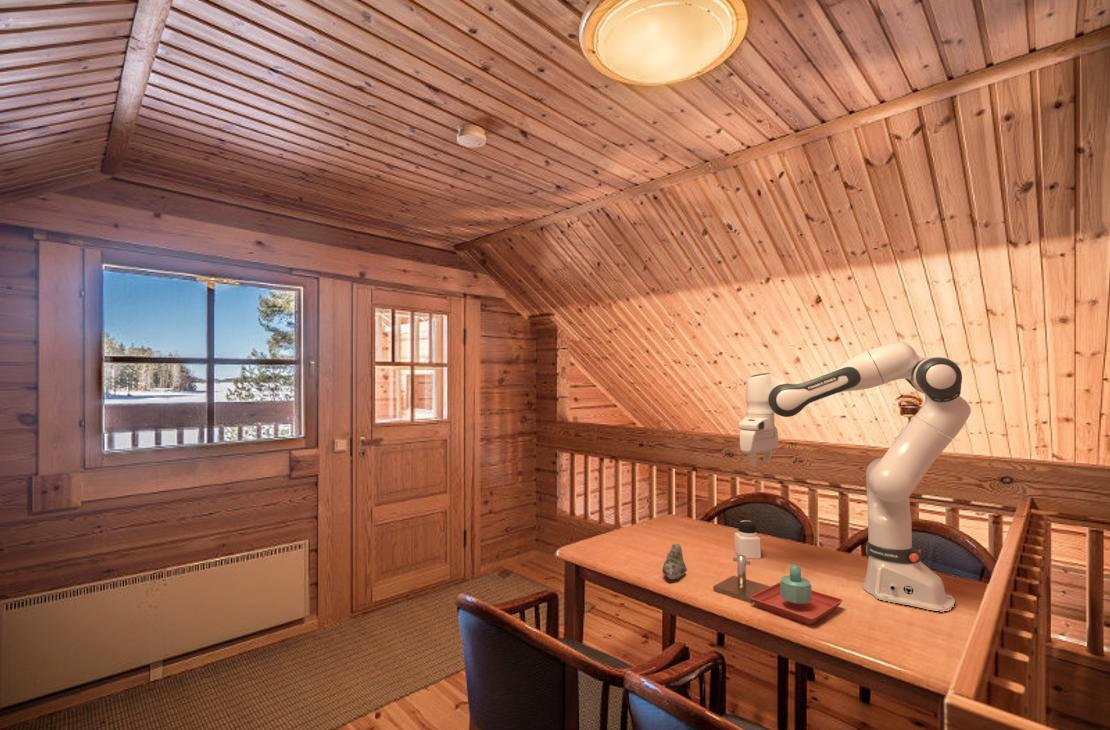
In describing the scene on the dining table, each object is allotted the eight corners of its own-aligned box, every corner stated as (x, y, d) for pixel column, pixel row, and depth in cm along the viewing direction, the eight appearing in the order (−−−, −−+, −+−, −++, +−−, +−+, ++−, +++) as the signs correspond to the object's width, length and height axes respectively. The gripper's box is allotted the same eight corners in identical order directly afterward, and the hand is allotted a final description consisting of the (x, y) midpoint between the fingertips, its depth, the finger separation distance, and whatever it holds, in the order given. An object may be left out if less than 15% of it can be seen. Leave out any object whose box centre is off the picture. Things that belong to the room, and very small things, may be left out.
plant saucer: (748, 608, 151) (748, 596, 151) (781, 591, 162) (781, 580, 162) (812, 631, 137) (812, 618, 137) (844, 611, 148) (843, 599, 148)
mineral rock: (670, 585, 167) (669, 552, 167) (645, 574, 175) (645, 543, 176) (697, 576, 174) (697, 544, 174) (672, 566, 183) (672, 536, 183)
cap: (787, 590, 155) (786, 559, 155) (814, 597, 150) (813, 565, 150) (777, 598, 150) (776, 566, 150) (804, 605, 145) (804, 573, 145)
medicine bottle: (761, 558, 189) (760, 524, 189) (740, 558, 189) (740, 524, 190) (754, 552, 196) (753, 519, 196) (734, 552, 196) (734, 519, 197)
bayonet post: (770, 591, 161) (770, 556, 161) (751, 603, 153) (750, 566, 153) (733, 580, 170) (733, 546, 170) (713, 591, 162) (713, 556, 162)
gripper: (765, 419, 186) (765, 459, 186) (736, 423, 172) (736, 467, 172) (783, 421, 182) (783, 462, 182) (754, 425, 168) (755, 469, 168)
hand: (760, 464), depth 177 cm, fingers open, 8 cm apart
